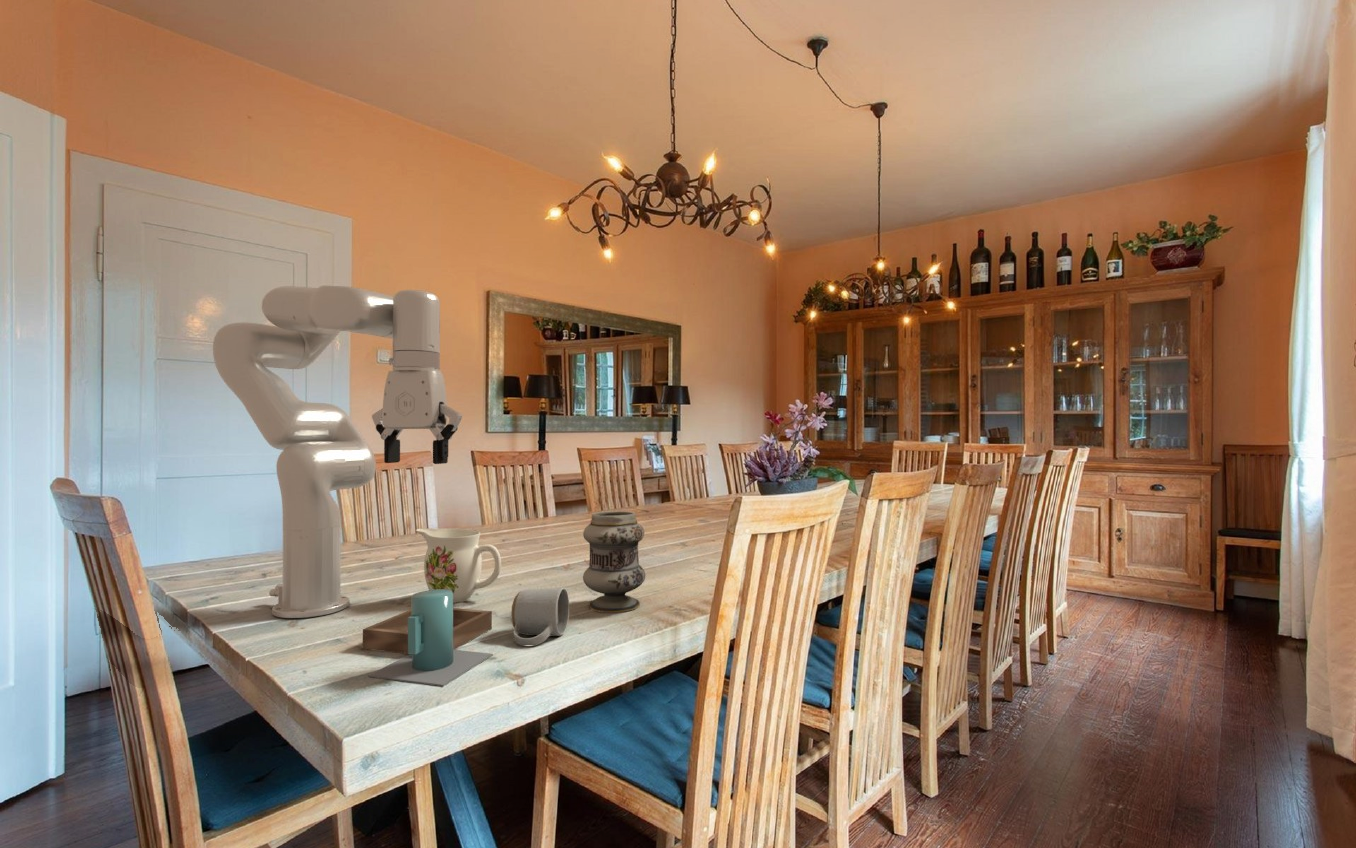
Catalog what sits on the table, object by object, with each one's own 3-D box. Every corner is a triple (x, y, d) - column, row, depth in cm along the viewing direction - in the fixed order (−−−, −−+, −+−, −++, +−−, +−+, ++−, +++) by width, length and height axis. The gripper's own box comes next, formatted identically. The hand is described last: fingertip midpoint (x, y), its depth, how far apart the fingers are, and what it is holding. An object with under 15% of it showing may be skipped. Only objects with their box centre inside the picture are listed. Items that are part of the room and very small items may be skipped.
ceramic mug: (524, 625, 110) (524, 581, 110) (570, 627, 109) (570, 582, 109) (501, 647, 100) (501, 599, 99) (552, 649, 99) (552, 600, 99)
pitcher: (488, 608, 120) (488, 536, 120) (400, 604, 123) (401, 533, 123) (511, 593, 131) (511, 527, 131) (430, 590, 134) (430, 525, 134)
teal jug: (428, 654, 95) (427, 588, 95) (461, 658, 94) (460, 590, 94) (394, 674, 88) (393, 602, 88) (429, 677, 86) (429, 604, 86)
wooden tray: (362, 648, 98) (362, 629, 98) (421, 622, 112) (421, 605, 112) (440, 657, 95) (440, 637, 95) (491, 629, 108) (491, 611, 108)
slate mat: (368, 676, 87) (368, 675, 87) (424, 647, 99) (424, 646, 99) (443, 686, 84) (443, 684, 84) (492, 655, 96) (492, 653, 96)
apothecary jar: (611, 594, 131) (611, 507, 131) (657, 603, 124) (658, 511, 124) (569, 607, 121) (569, 513, 121) (617, 618, 114) (617, 519, 114)
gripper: (358, 362, 108) (357, 463, 107) (446, 360, 103) (446, 465, 103) (389, 367, 115) (389, 461, 115) (473, 364, 110) (472, 462, 110)
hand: (416, 463), depth 109 cm, fingers open, 9 cm apart
